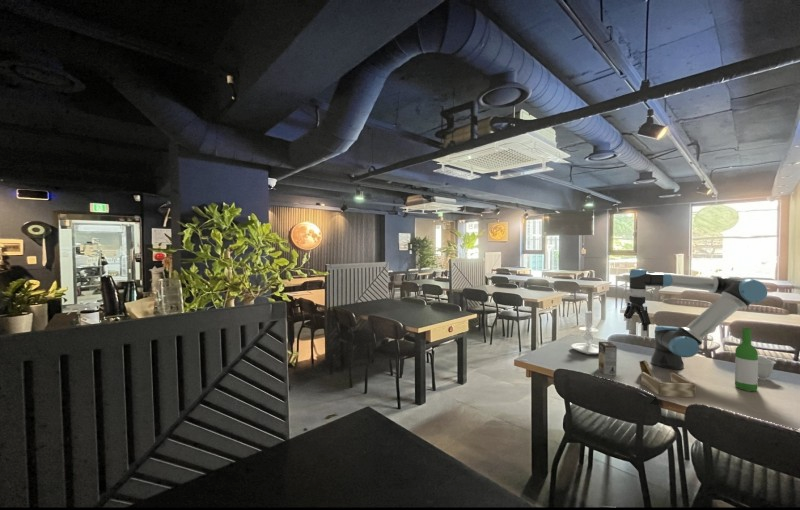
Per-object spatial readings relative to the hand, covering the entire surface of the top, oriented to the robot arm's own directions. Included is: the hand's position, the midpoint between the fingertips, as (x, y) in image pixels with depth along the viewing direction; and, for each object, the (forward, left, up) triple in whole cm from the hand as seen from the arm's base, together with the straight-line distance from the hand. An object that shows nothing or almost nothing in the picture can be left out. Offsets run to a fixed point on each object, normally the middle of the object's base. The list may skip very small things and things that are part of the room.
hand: (636, 332), depth 187 cm
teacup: (-58, +7, -22) cm, 62 cm away
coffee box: (+17, +4, -22) cm, 28 cm away
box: (0, +25, -22) cm, 33 cm away
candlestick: (+13, -28, -22) cm, 38 cm away
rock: (0, +11, -22) cm, 24 cm away
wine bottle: (-39, +22, -22) cm, 49 cm away
